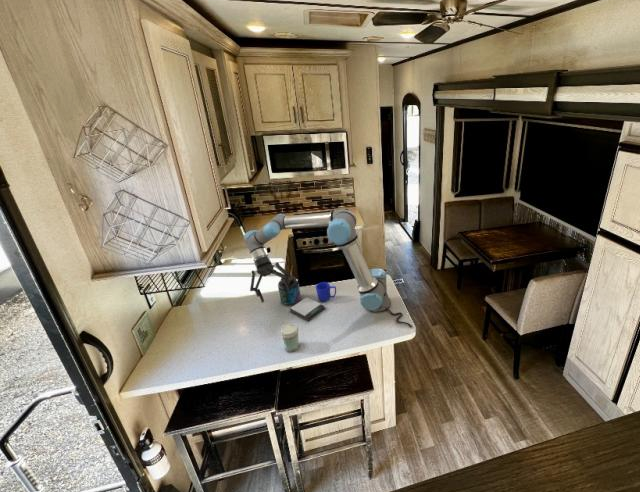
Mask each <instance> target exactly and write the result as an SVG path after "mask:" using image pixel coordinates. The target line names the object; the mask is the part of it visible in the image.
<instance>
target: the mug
mask: <svg viewBox="0 0 640 492" xmlns="http://www.w3.org/2000/svg"><path fill="white" fill-rule="evenodd" d="M331 289H334V295H331ZM315 291H316V294H317V299H318V301H319V302H320V303H326V302H328V301H329V300H330V298H335V297H336V295H337V286H335V285H334V286H333V285H330V283H329V282H326V281H322V282H318V283H317V284H316V285H315Z"/></svg>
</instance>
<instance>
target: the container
mask: <svg viewBox="0 0 640 492" xmlns="http://www.w3.org/2000/svg"><path fill="white" fill-rule="evenodd" d="M288 280H289V282H290V284H289V287H290V289H291V291H290V292H288V290H287V288H286V285H285V283H284V279H283V278H281V277H280V280H279V281H278V283H277V288H278V295H279V298H280V304H282V305H283V306H286V307H288V306H291V307H292V306H294V305H296V304H297V303H299V302H300V301H301V300H302V295H301V288H300V282H299V280H298V279H297V277H296V276H294V275H293V274H290V277H288Z"/></svg>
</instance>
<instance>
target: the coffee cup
mask: <svg viewBox="0 0 640 492" xmlns="http://www.w3.org/2000/svg"><path fill="white" fill-rule="evenodd" d="M299 331H300V329H299V327H298V325H297V324H295V323H288V324H286V325H284V326H282V327H281V330H280V336H281V337H282V340H283V343H284V346H285V348H286V351H287V352H289V353H291V352H295V351H297V350H298V349H299V345H300V343H299Z"/></svg>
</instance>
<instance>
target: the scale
mask: <svg viewBox="0 0 640 492" xmlns="http://www.w3.org/2000/svg"><path fill="white" fill-rule="evenodd" d="M325 310H326V309H325V305H323V304H321V302H318V301H315V300H314V299H311V298H310V297H304V298H303V299H301V300H300V301H299V302H298V303H296V304H294V305H292V306H291V307H290V308H289V311H290V313H291V314H293V315H295V316H297V317H299V318H300V319H302V320H304V321H306V322H309V321H311V320H312V319H313V318H315V317H316V316H317V315H319V314H321V312H323V311H325Z"/></svg>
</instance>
